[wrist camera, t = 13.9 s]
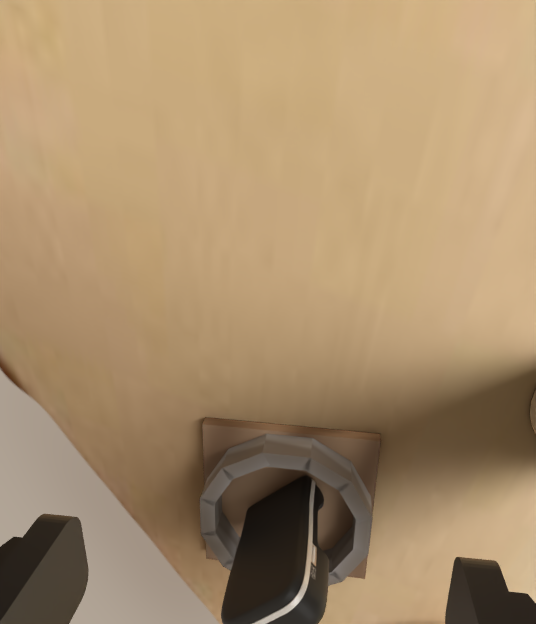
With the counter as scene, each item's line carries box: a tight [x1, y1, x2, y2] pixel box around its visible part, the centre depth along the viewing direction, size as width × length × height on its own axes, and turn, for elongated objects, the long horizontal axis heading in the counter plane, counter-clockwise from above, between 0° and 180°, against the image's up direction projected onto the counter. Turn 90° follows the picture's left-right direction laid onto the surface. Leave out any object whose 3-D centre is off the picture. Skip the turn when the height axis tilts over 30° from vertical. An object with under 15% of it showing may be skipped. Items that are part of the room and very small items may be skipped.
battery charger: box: [221, 475, 329, 624], centre depth 37 cm, size 7×4×11 cm, turn 130°
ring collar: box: [200, 418, 381, 586], centre depth 42 cm, size 14×14×4 cm
